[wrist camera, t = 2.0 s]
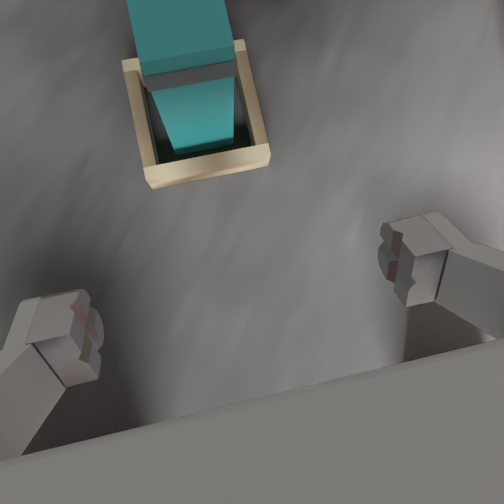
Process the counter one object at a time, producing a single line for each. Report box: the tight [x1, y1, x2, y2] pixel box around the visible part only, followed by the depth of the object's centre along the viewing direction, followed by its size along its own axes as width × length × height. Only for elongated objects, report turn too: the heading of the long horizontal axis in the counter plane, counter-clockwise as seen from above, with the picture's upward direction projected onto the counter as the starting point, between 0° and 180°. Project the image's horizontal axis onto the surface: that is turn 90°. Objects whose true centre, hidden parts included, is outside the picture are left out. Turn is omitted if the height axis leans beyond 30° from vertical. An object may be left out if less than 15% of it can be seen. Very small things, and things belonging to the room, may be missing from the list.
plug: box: [126, 0, 237, 155], centre depth 22 cm, size 4×4×11 cm
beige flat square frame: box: [121, 39, 271, 189], centre depth 26 cm, size 8×8×2 cm
